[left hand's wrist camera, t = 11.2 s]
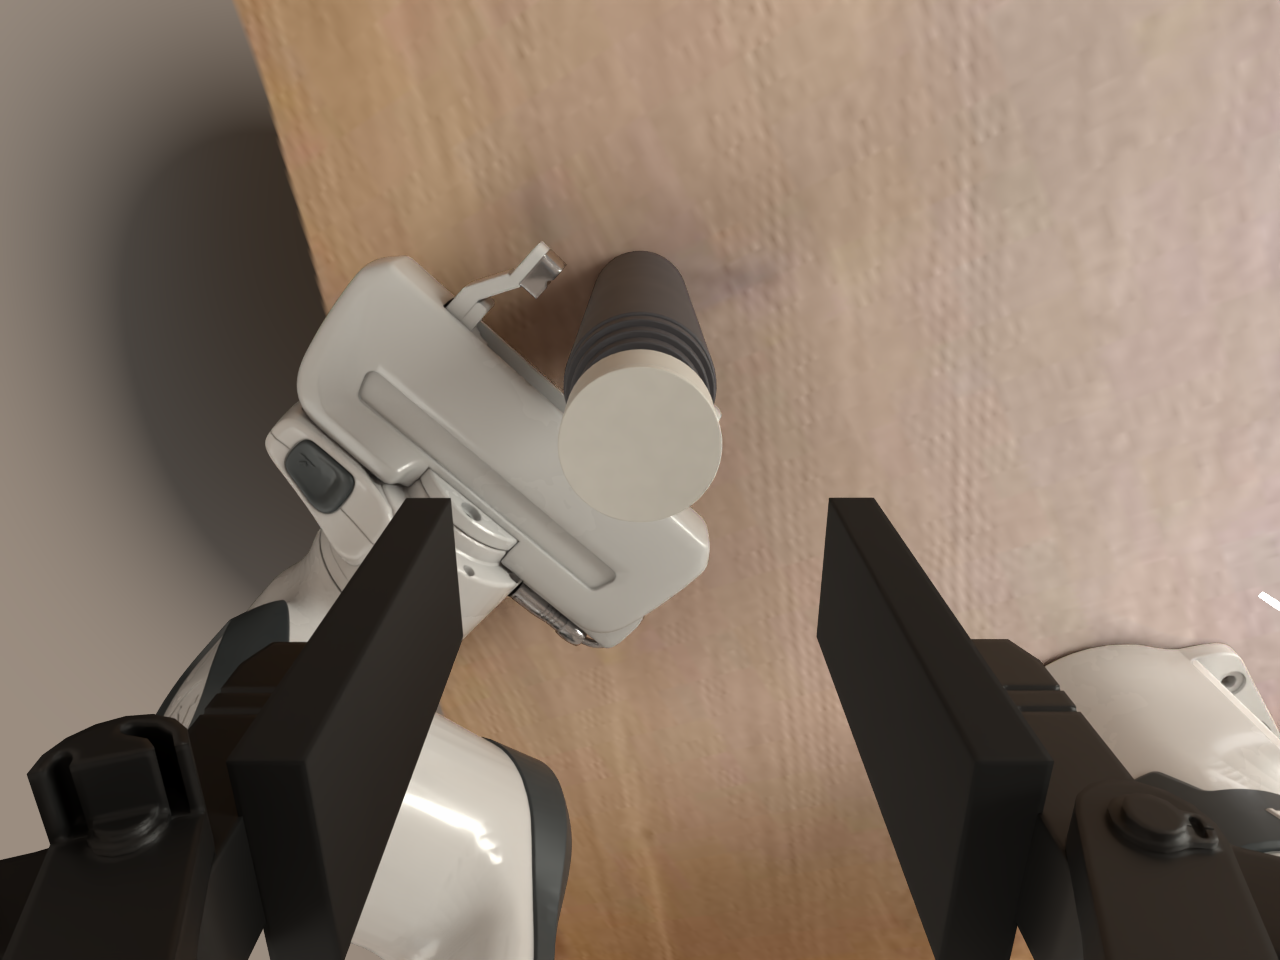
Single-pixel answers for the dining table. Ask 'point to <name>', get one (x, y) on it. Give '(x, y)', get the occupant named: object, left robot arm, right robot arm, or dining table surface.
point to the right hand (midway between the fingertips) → (634, 329)
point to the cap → (639, 436)
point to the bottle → (640, 318)
